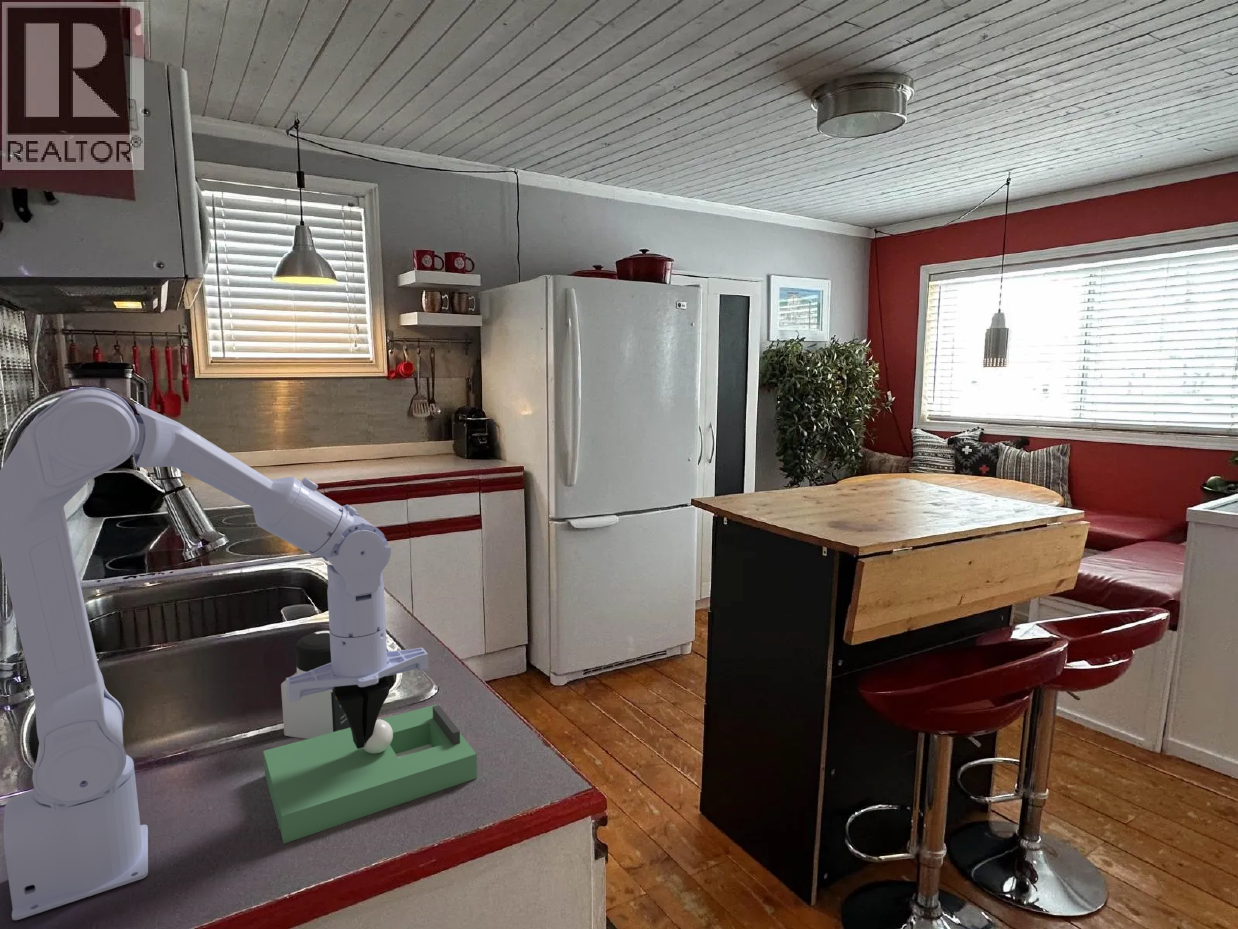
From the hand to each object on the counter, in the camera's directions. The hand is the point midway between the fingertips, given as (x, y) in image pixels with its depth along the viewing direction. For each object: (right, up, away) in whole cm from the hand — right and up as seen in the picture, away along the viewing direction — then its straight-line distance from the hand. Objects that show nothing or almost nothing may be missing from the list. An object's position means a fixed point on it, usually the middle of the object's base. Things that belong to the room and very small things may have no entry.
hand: (363, 742), depth 78 cm
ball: (+1, 0, +1) cm, 1 cm away
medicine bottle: (-9, -3, +12) cm, 15 cm away
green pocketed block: (0, -4, +1) cm, 4 cm away
